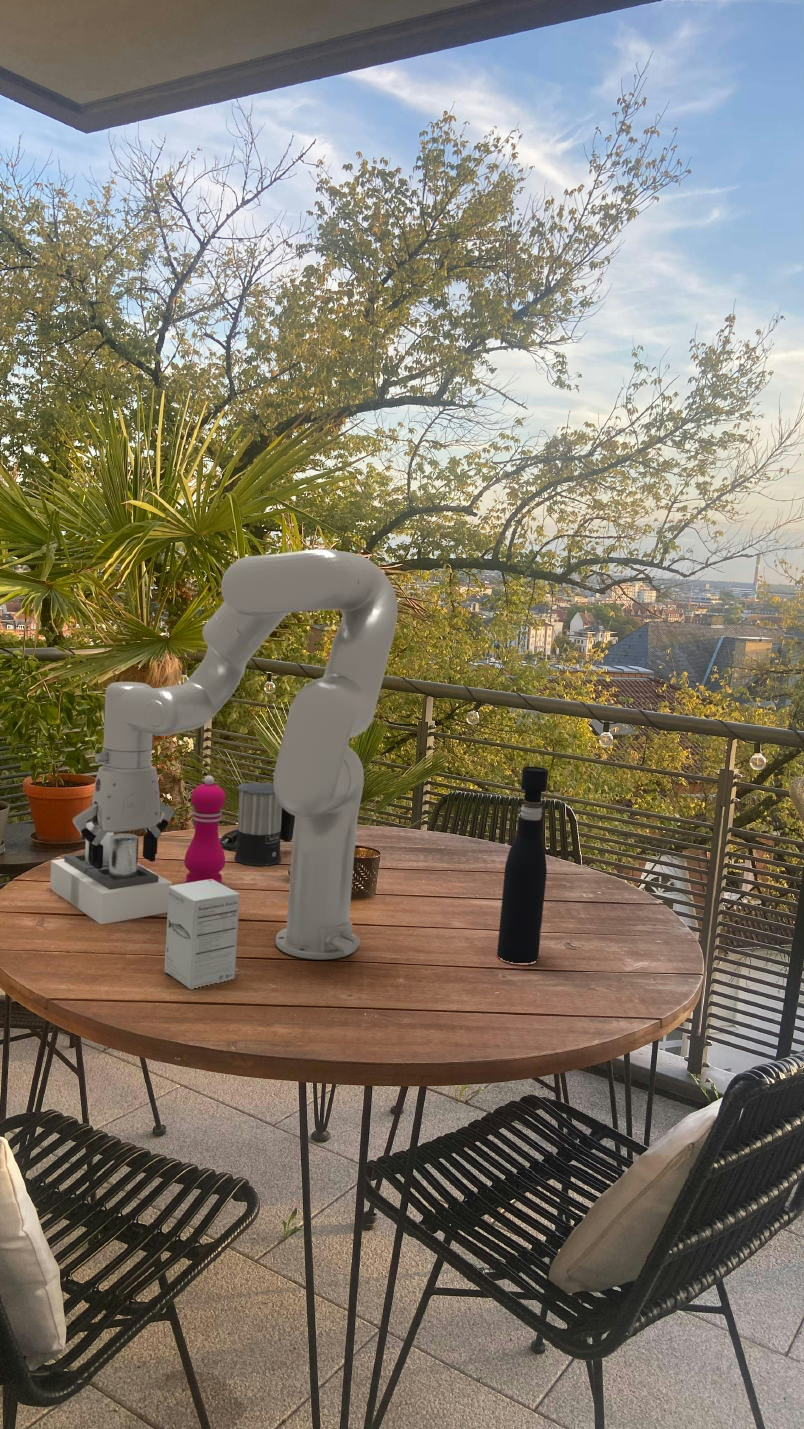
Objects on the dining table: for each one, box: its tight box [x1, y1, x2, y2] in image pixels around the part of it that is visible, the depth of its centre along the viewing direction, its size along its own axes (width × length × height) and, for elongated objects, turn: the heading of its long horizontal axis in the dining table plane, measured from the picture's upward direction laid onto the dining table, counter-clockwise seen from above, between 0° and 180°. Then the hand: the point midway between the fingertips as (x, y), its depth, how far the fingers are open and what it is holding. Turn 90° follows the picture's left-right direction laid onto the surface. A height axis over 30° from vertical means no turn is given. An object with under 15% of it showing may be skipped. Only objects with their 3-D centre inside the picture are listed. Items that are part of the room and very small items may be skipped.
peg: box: [108, 833, 139, 880], centre depth 159 cm, size 4×4×12 cm
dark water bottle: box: [496, 765, 549, 963], centre depth 150 cm, size 6×6×30 cm
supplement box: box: [164, 879, 241, 990], centre depth 135 cm, size 7×7×13 cm
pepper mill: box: [183, 775, 226, 884], centre depth 174 cm, size 7×7×20 cm
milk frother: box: [219, 782, 295, 867], centre depth 195 cm, size 14×16×15 cm
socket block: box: [49, 821, 173, 925], centre depth 162 cm, size 20×12×12 cm, turn 42°
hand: (123, 863), depth 159 cm, fingers open, 8 cm apart
